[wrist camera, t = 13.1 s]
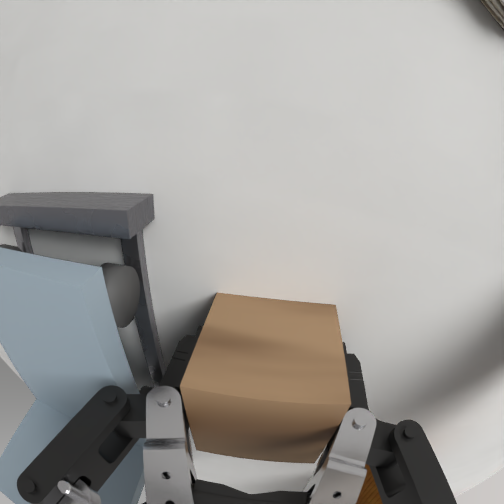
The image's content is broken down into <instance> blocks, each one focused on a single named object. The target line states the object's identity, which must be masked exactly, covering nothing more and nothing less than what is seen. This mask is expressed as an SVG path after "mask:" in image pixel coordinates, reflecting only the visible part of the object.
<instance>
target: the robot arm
mask: <svg viewBox="0 0 504 504" xmlns="http://www.w3.org/2000/svg"><path fill="white" fill-rule="evenodd" d="M202 328H203V326H199V328H198V330H197V333H196V335H195V336H191V335H186V336H185V337H184V338H183V339H182V340H181V341H179V343H178V345H177V348H176V350H175V352H174V354H173V356H172V359H171V361H170V363H169V365H168V367H167V370H166V372H165V374H164V376H163V378H162V381H161V383H160V385H159V386H158V387H155V388H153V389H152V390H151V391H150V392H149V393H146V394H126V393H125V391H124V390H123V389H122V388H120V387H118V386H114V385H109V386H105V387H103V388H101V389H100V390H99V391H98V392H97V393H96V394H95V395H94V396H93V397H92V398H91V399H90V400H89V401H88V402H87V403H86V404H85V406H84V407H83V408H82V409H81V410H80V411H79V412H78V413H77V414H76V415H75V416H74V417H73V418H72V419H71V420H70V421H69V422H68V424H67V425H66V426H65V427H64V428H63V429H62V430H61V431H60V432H59V433H58V434H57V435H56V436H55V437H54V439H53V440H52V441H51V442H50V443H49V444H48V445H47V446H46V447H45V448H44V449H43V450H42V451H41V453H40V454H39V455H38V456H37V457H36V458H35V459H34V460H33V461H32V462H31V463H30V464H29V466H28V467H27V468H26V469H25V470H24V471H23V472H22V473H21V474H20V476H19V477H18V479H17V489H18V492H19V494H20V496H21V497H22V498H23V499H24V500H25V501H27V502H29V503H31V504H101V499H100V496H99V494H98V493H97V492H98V491H99V489H100V488H101V487H102V486H103V484H104V483H105V482H106V481H107V479H108V478H109V477H110V476H111V474H112V473H113V472H114V471H115V469H116V468H117V467H118V465H119V464H120V463H121V462H122V460H123V459H124V458H125V457H126V455H127V454H128V453H129V451H130V450H131V449H132V448H133V446H134V445H135V444H136V442H137V441H138V440H139V438H146V443H144V445H143V462H144V479H145V492H146V502H145V503H143V504H356V502H357V499H358V497H359V494H360V491H361V488H362V486H363V483H364V480H365V477H366V473H367V469H366V468H365V464H367V465H369V466H370V469H371V472H372V475H373V478H374V480H375V483H376V486H377V489H378V492H379V495H380V497H381V500H382V503H383V504H457V503H456V500H455V498H454V496H453V493H452V491H451V489H450V486H449V484H448V482H447V479H446V477H445V475H444V473H443V471H442V468H441V466H440V464H439V462H438V460H437V458H436V456H435V453H434V451H433V449H432V447H431V445H430V443H429V441H428V439H427V437H426V435H425V433H424V431H423V429H422V427H421V426H420V425H419V424H418V423H417V422H415V421H413V420H403V421H401V422H399V423H398V424H397V425H394V424H389V423H385V422H382V421H379V420H377V419H376V418H375V416H374V415H373V414H372V413H371V412H370V411H369V409H368V405H367V398H366V393H365V387H364V381H363V376H362V373H361V372H362V370H361V365H360V362H359V360H358V359H357V357H356V356H355V355H354V354H347V352H346V346H345V343H344V342H342V344H343V350H344V356H345V362H346V369H347V376H348V383H349V391H350V399H351V406H350V407H349V409H348V411H347V413H346V414H345V416H344V418H343V419H342V421H341V423H340V424H339V426H338V428H337V429H336V431H335V433H334V434H333V436H332V437H331V439H330V440H329V442H328V444H327V445H326V447H325V448H324V450H323V453H322V455H321V457H320V459H319V462H318V464H317V466H316V468H315V470H314V472H313V475H312V477H311V479H310V480H309V482H308V484H307V485H306V487H305V489H304V490H303V492H291V491H276V492H269V493H261V494H247V493H244V492H242V491H239V490H236V489H234V488H231V487H228V486H226V485H223V484H218V483H213V482H207V481H203V480H198V479H197V476H196V471H195V467H194V462H193V455H192V449H191V441H190V434H189V426H190V425H189V422H188V418H187V414H186V410H185V406H184V402H183V398H182V394H181V389H180V384H181V381H182V379H183V376H184V374H185V371H186V369H187V366H188V364H189V361H190V358H191V356H192V353H193V351H194V348H195V346H196V343H197V341H198V338H199V336H200V333H201V331H202Z"/></svg>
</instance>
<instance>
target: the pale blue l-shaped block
mask: <svg viewBox="0 0 504 504" xmlns="http://www.w3.org/2000/svg"><path fill="white" fill-rule="evenodd" d="M139 297H140V283H139V277H138V274H137V272H136V270H135V269H134V268H133V267H131V266H125V265H119V264H112V263H104V264H102V265H101V266H100V267H98V266H92V265H87V264H81V263H76V262H70V261H65V260H60V259H55V258H49V257H44V256H39V255H34V254H30V253H25V252H22V250H21V249H20V248H18V247H16V246H11V245H6V244H2V245H0V343H1V345H2V346H3V348H4V350H5V352H6V353H7V355H8V357H9V358H10V360H11V362H12V363H13V365H14V367H15V368H16V370H17V371H18V373H19V374H20V376H21V377H22V379H23V380H24V382H25V383H26V385H27V386H28V388H29V389H30V390H31V392H32V393H33V395H34V396H35V397H36V401H35V402H34V404H33V405H32V407H31V408H30V410H29V411H28V413H27V414H26V416H25V417H24V419H23V420H22V422H21V424H20V426H19V427H18V428H17V430H16V432H15V433H14V435H13V437H12V438H11V440H10V442H9V443H8V445H7V447H6V449H5V450H4V452H3V454H2V456H1V457H0V491H1V492H2V493H3V494H4V495H6V496H7V497H8V498H9V499H10V500H11V501H13V502H14V503H15V504H31V503H29V502H27V501H25V500H24V499H23V498H22V497H21V496H20V494H19V492H18V489H17V479H18V477H19V476H20V474H21V473H22V472H23V471H24V470H25V469H26V468H27V467H28V466H29V464H30V463H31V462H32V461H33V460H34V459H35V458H36V457H37V456H38V455H39V454H40V453H41V451H42V450H43V449H44V448H45V447H46V446H47V445H48V444H49V443H50V442H51V441H52V440H53V439H54V437H55V436H56V435H57V434H58V433H59V432H60V431H61V430H62V429H63V428H64V427H65V426H66V425H67V424H68V422H69V421H70V420H71V419H72V418H73V417H74V416H75V415H76V414H77V413H78V412H79V411H80V410H81V409H82V408H83V407H84V406H85V404H86V403H87V402H88V401H89V400H90V399H91V398H92V397H93V396H94V395H95V394H96V393H97V392H98V391H99V390H100V389H101V388H103V387H105V386H109V385H114V386H118V387H120V388H122V389H123V390H124V391H125V393H126V394H146V393H149V392H150V391H151V390H152V389H153V387H149V386H143V387H142V388H141V389H140V391H138V388H137V385H136V383H135V380H134V377H133V375H132V372H131V369H130V367H129V364H128V361H127V358H126V355H125V352H124V349H123V346H122V343H121V340H120V336H119V333H118V330H117V327H120V328H123V327H126V326H127V325H129V324H130V323H131V321H132V320H133V318H134V316H135V314H136V311H137V308H138V304H139ZM144 443H146V438H139V440H138V441H137V442H136V444H135V445H134V446H133V448H132V449H131V450H130V451H129V453H128V454H127V455H126V457H125V458H124V459H123V460H122V462H121V463H120V464H119V465H118V467H117V468H116V469H115V471H114V472H113V473H112V474H111V476H110V477H109V478H108V479H107V481H106V482H105V483H104V484H103V486H102V487H101V488H100V489H99V491H98V492H97V493H98V494H99V496H100V499H101V504H137V503H138V501H139V498H140V495H141V492H142V490H143V487H144V484H145V479H144V462H143V445H144Z"/></svg>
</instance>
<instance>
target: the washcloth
mask: <svg viewBox="0 0 504 504" xmlns="http://www.w3.org/2000/svg"><path fill="white" fill-rule="evenodd" d="M480 1H481V2H482V3H483V5H484V6H485V7H486V8H487V10H488V11H489V12H490V13H491V15H492V16H493V17H494V19H495V20H496V21H497V22H498V23H499V24H500V25H501V27H502V28H503V29H504V0H480Z"/></svg>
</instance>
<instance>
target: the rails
mask: <svg viewBox="0 0 504 504" xmlns="http://www.w3.org/2000/svg"><path fill="white" fill-rule="evenodd" d="M153 219H154V206H153V194H136V193H95V192H51V193H13V194H7V195H4V196H2V197H0V225H5V226H13V229H14V233H15V237H16V241H17V245H18V248H20V249H21V250H22V252H25V253H30V254H33V251H32V247H31V243H30V239H29V235H28V230H27V228H32V229H42V230H51V231H60V232H69V233H78V234H87V235H96V236H105V237H114V238H121V243H122V250H123V256H124V262H125V266H131V267H133V268H134V269H135V270H136V272H137V274H138V277H139V283H140V297H139V304H138V308H137V311H136V314H135V318H136V322H137V327H138V331H139V335H140V339H141V343H142V346H143V350H144V354H145V357H146V361H147V364H148V368H149V371H150V374H151V378H152V381H153V384H154V387H158V386H159V385H160V383H161V381H162V378H163V376H164V374H165V372H166V370H165V365H164V361H163V357H162V352H161V347H160V343H159V338H158V333H157V328H156V323H155V317H154V312H153V306H152V300H151V294H150V287H149V281H148V274H147V266H146V258H145V250H144V241H143V232H142V228H144V227H145V226H146V225H147V224H149V223H150V222H151V221H152V220H153Z"/></svg>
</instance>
